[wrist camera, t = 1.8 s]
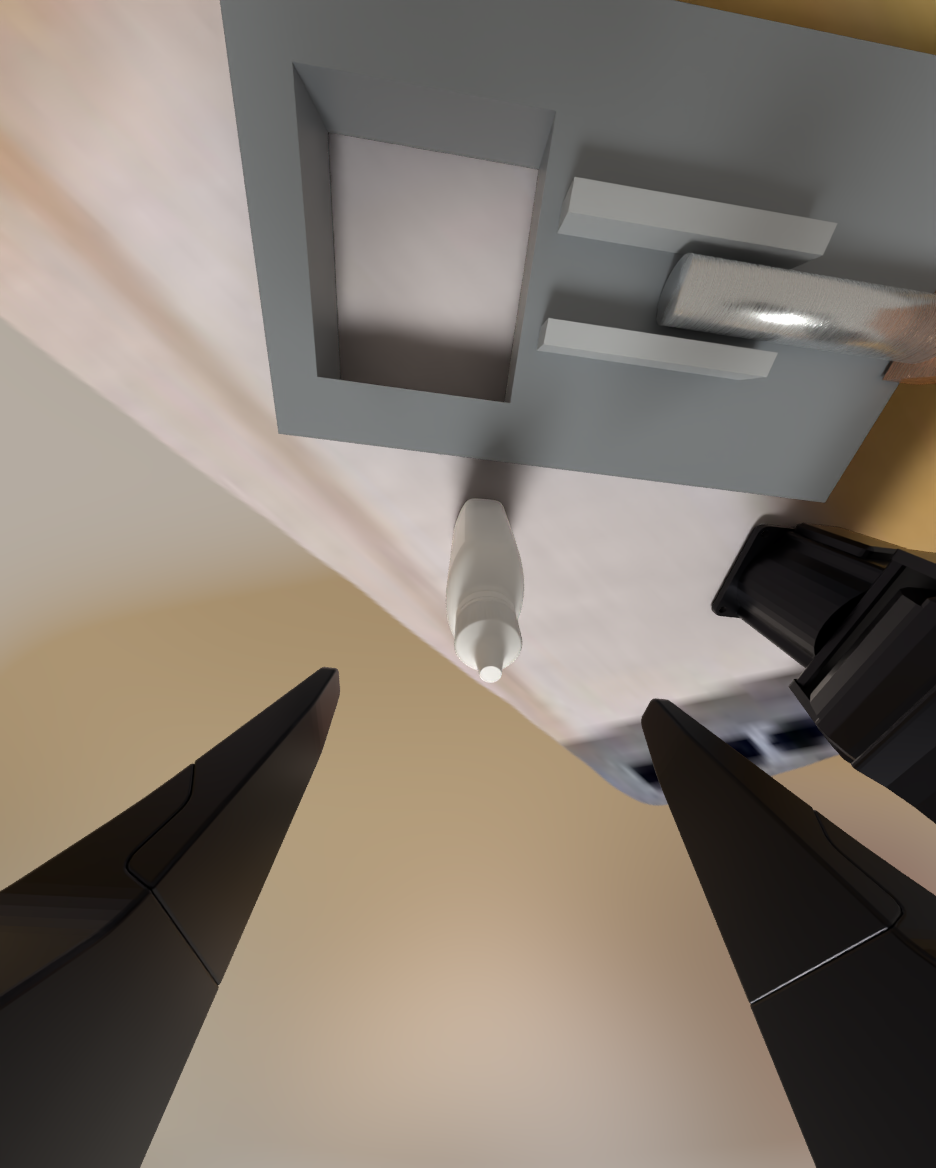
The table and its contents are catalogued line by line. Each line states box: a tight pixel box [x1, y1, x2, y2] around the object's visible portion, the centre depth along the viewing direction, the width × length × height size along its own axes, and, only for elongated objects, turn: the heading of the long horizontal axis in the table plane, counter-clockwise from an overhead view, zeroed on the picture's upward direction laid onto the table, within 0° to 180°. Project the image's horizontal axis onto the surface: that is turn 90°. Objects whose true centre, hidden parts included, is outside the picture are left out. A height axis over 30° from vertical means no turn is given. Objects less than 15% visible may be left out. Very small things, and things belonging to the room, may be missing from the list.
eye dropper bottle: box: [446, 498, 524, 683], centre depth 16 cm, size 4×6×12 cm
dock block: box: [220, 0, 936, 503], centre depth 14 cm, size 14×27×4 cm, turn 83°
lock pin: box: [656, 253, 936, 385], centre depth 12 cm, size 3×12×4 cm, turn 83°
